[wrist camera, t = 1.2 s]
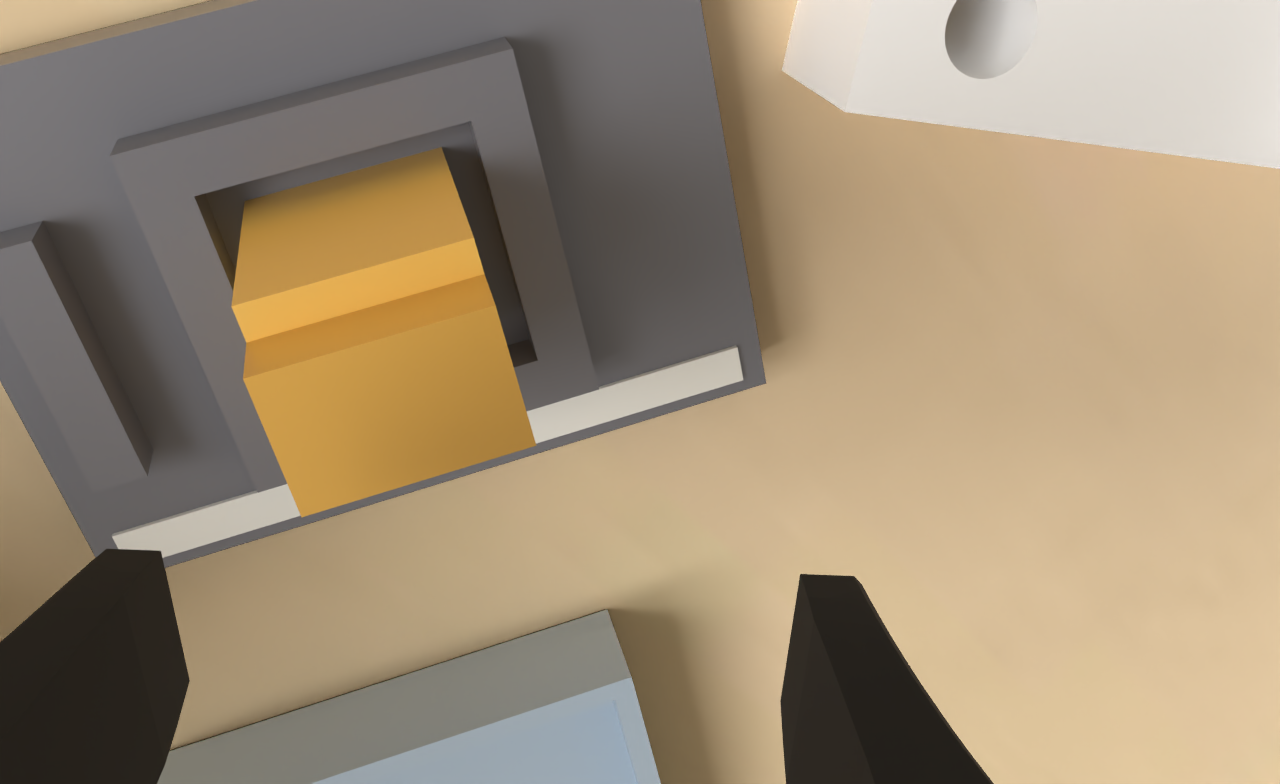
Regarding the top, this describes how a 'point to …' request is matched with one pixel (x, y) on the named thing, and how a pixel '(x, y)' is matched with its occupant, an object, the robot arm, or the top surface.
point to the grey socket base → (330, 146)
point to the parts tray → (455, 724)
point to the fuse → (373, 333)
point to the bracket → (1056, 69)
